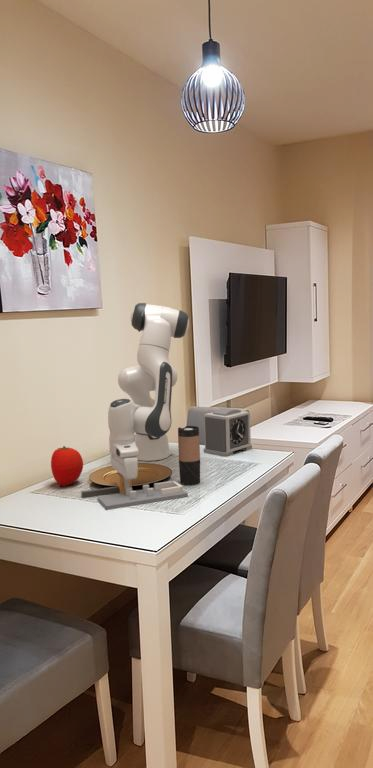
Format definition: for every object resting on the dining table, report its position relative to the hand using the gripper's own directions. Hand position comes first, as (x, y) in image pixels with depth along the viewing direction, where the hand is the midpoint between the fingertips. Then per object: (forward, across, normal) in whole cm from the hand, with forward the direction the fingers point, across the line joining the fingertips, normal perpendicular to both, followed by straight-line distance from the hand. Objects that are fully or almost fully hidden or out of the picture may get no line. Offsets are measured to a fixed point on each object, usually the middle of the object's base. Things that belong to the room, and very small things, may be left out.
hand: (124, 485), depth 217 cm
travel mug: (+2, +2, +24) cm, 24 cm away
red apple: (+2, -18, -16) cm, 24 cm away
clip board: (+2, +11, +3) cm, 12 cm away
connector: (+2, 0, -6) cm, 7 cm away
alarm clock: (+2, -34, +57) cm, 66 cm away
